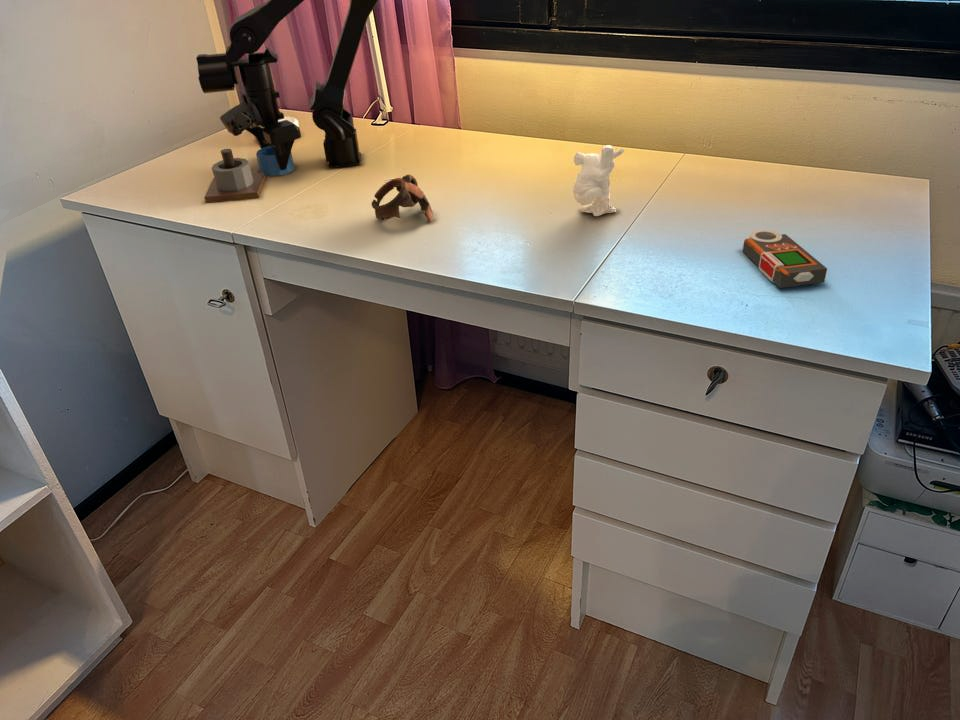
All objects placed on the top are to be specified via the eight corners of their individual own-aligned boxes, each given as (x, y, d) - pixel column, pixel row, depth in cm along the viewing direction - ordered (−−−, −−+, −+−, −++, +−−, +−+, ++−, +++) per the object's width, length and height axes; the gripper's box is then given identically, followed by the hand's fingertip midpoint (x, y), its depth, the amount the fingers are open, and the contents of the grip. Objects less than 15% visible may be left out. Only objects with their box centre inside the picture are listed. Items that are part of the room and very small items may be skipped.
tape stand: (265, 177, 148) (256, 139, 143) (258, 197, 140) (248, 157, 135) (215, 182, 148) (204, 143, 143) (205, 202, 140) (193, 162, 135)
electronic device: (778, 225, 114) (829, 267, 102) (775, 243, 116) (825, 286, 104) (737, 230, 114) (782, 272, 101) (734, 247, 115) (779, 291, 103)
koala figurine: (626, 208, 128) (631, 141, 121) (610, 223, 123) (614, 154, 116) (582, 199, 132) (584, 134, 125) (565, 214, 127) (566, 147, 120)
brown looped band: (434, 232, 125) (407, 198, 120) (390, 251, 129) (361, 219, 124) (441, 187, 133) (414, 154, 127) (399, 207, 137) (372, 175, 132)
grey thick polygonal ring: (255, 175, 146) (250, 156, 144) (250, 189, 141) (245, 169, 138) (220, 179, 146) (215, 159, 143) (214, 192, 140) (209, 172, 138)
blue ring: (295, 162, 154) (291, 143, 152) (292, 174, 149) (288, 155, 147) (263, 165, 154) (258, 146, 152) (258, 177, 149) (254, 158, 146)
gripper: (202, 86, 144) (222, 162, 153) (237, 107, 132) (257, 189, 141) (255, 74, 149) (272, 149, 159) (293, 94, 137) (309, 173, 146)
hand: (276, 164), depth 151 cm, fingers closed on blue ring, 7 cm apart
